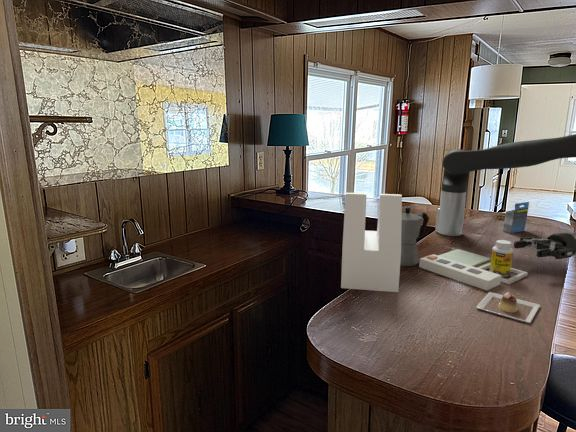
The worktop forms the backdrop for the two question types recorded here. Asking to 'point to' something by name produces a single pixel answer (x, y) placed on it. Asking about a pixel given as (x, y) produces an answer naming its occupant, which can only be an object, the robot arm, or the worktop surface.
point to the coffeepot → (411, 236)
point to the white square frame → (514, 278)
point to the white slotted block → (372, 244)
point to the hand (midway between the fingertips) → (525, 249)
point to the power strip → (460, 271)
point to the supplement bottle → (501, 258)
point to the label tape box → (516, 218)
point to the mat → (465, 257)
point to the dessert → (508, 305)
